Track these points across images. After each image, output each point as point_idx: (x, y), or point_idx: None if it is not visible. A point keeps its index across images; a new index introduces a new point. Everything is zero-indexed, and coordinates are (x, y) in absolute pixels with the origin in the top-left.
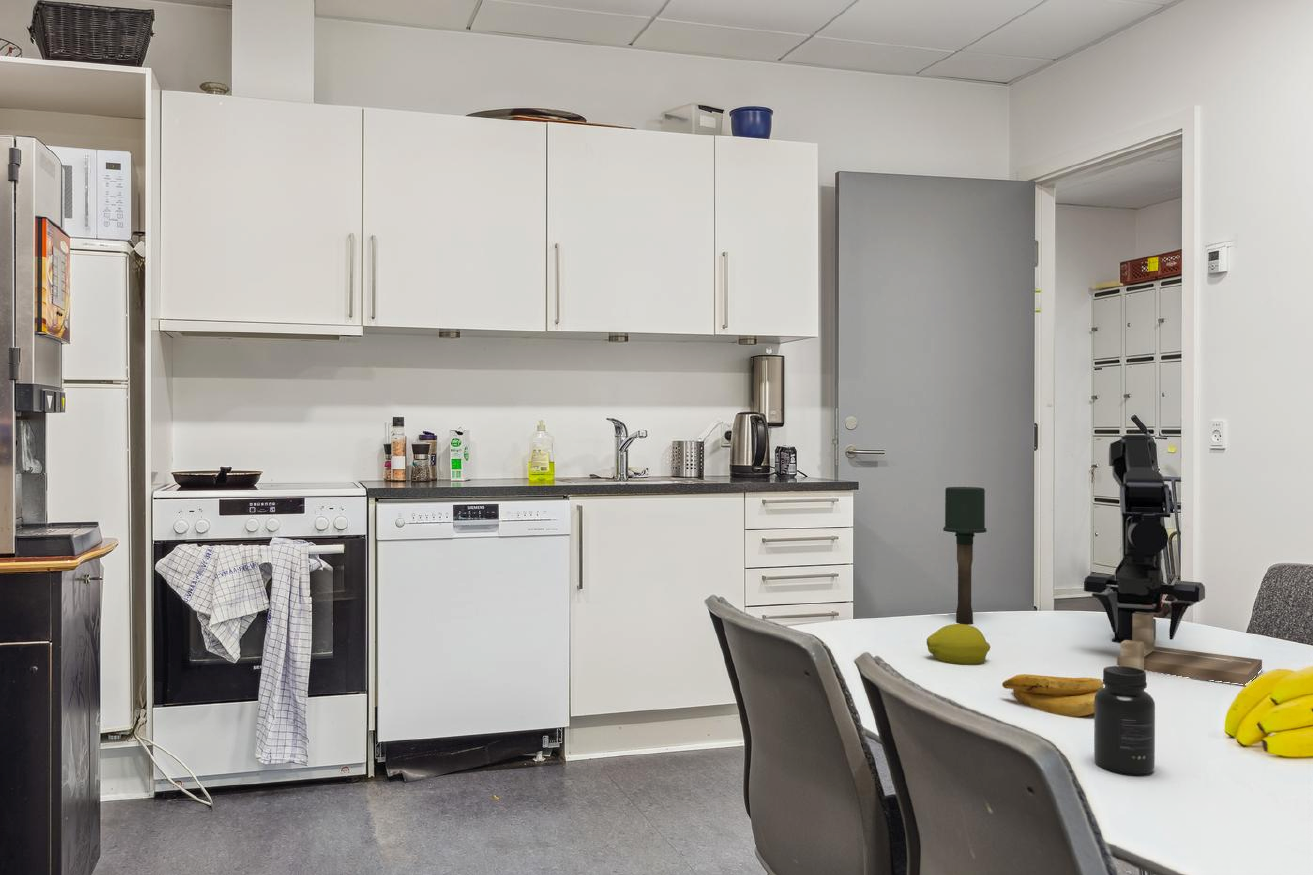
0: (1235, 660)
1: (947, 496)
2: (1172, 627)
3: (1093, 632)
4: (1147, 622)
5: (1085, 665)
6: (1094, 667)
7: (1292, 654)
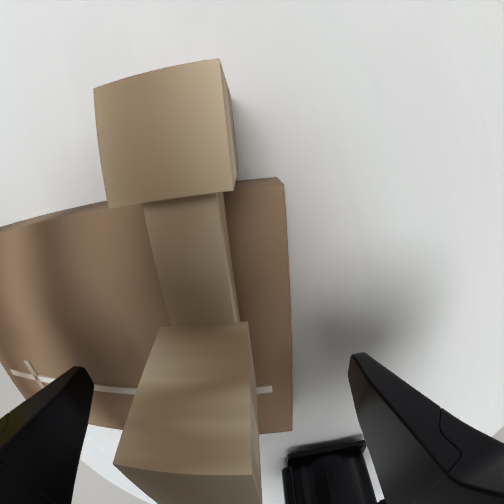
0: (37, 384)
1: None
2: (39, 398)
3: None
4: (138, 420)
5: (387, 147)
6: (352, 133)
7: (114, 483)
